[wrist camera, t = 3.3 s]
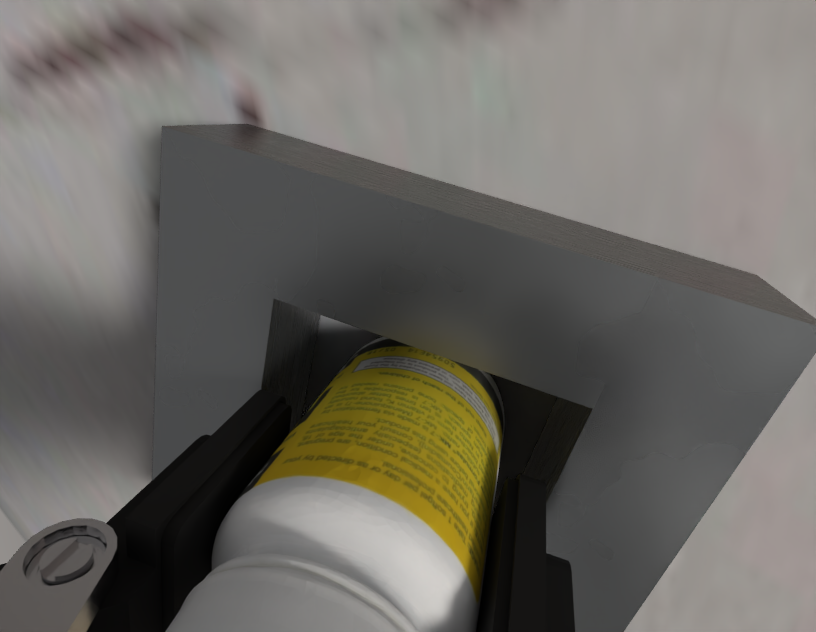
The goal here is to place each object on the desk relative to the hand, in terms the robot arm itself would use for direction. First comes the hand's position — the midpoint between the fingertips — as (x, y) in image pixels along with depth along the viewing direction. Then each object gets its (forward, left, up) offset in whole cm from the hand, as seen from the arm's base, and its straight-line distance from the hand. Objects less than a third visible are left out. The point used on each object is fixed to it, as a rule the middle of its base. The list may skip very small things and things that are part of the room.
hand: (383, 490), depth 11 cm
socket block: (0, 0, -3) cm, 3 cm away
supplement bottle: (0, 0, -4) cm, 4 cm away
